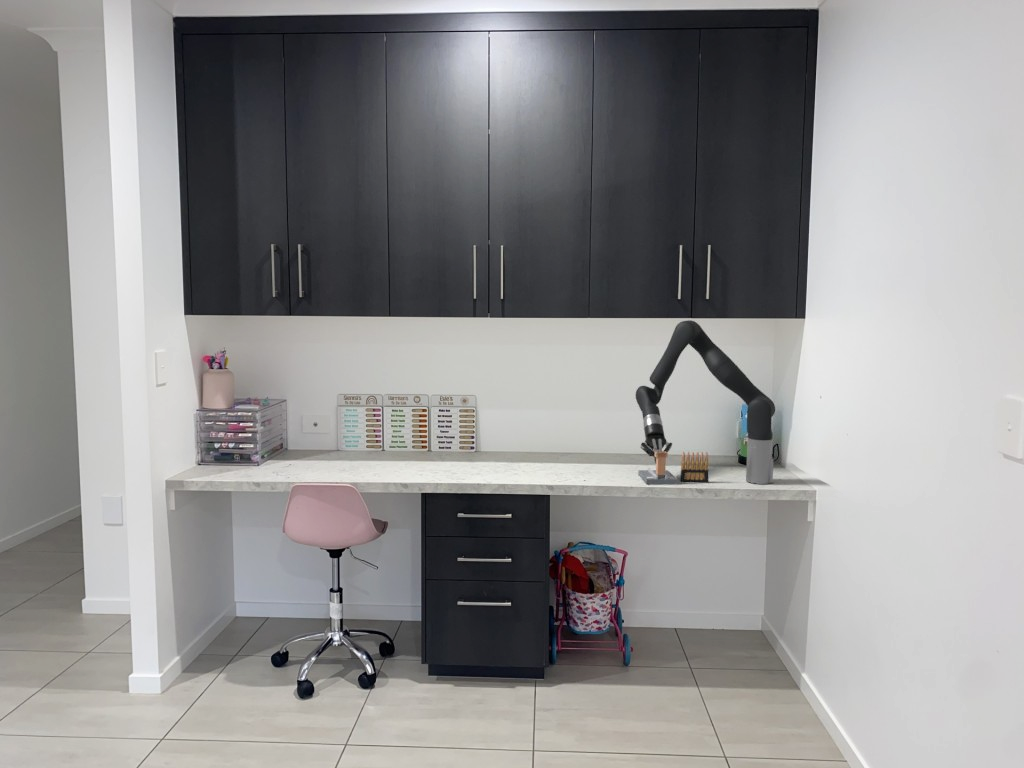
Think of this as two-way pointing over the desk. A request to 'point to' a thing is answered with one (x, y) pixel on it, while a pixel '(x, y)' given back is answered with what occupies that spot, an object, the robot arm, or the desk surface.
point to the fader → (660, 463)
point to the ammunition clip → (694, 469)
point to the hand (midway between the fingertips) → (659, 464)
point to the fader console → (652, 478)
